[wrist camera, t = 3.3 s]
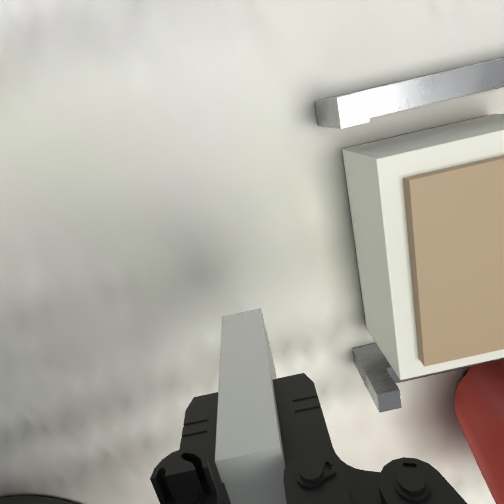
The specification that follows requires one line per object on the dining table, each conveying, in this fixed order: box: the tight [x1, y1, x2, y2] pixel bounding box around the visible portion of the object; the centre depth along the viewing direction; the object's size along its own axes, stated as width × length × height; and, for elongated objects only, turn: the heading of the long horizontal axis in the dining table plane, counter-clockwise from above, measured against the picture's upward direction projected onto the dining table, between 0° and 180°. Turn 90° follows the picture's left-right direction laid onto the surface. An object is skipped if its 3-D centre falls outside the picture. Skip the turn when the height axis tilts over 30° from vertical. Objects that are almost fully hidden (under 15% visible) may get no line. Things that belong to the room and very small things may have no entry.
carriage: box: [342, 114, 504, 380], centre depth 20 cm, size 8×11×6 cm
